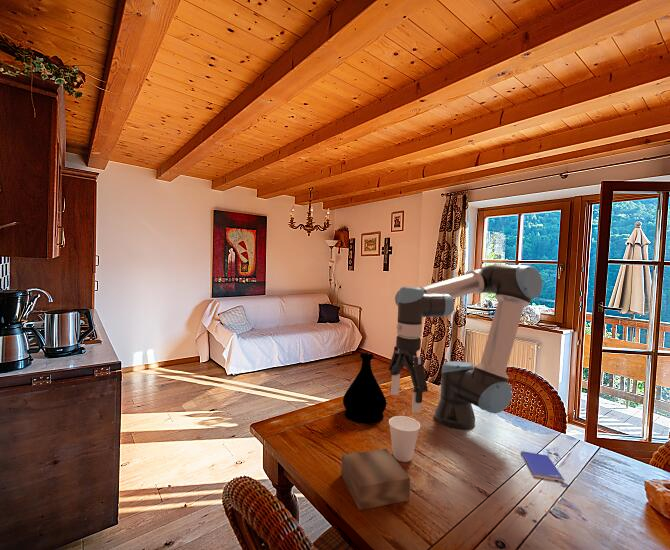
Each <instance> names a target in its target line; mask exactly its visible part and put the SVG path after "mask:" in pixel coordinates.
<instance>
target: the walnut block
mask: <svg viewBox="0 0 670 550" xmlns="http://www.w3.org/2000/svg"><path fill="white" fill-rule="evenodd" d="M340 470H341V473H340V477H342V479H343V482H344V483H345V486H346V488H347V490H348V492H349V493H350V495H351V497H352V499H353V501H354V503H355V506H356V508H357V509H358V511H362V510H367V509H372V508H377V507H382V506H388V505H393V504H397V503H403V502H407V501H410V490H411V487H410V486H411V477H410V476H409V475H408V473H407V472H406V471H405V470H404V468H403V467H402V466H401V465H400V463H399V462H398V460H397V459H396V458H395V457H394V456H393V454H391V453H390V451H389V450H388V448H380V449H375V450H374V449H373V450H367V451H358V452H352V453H351V452H350V453H344V454H341V469H340Z"/></svg>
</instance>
